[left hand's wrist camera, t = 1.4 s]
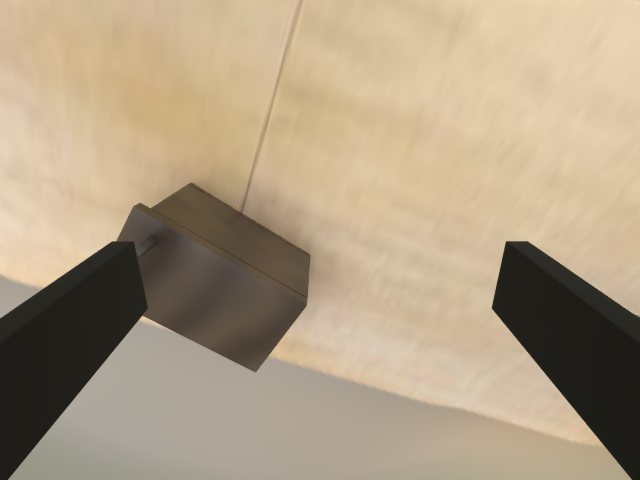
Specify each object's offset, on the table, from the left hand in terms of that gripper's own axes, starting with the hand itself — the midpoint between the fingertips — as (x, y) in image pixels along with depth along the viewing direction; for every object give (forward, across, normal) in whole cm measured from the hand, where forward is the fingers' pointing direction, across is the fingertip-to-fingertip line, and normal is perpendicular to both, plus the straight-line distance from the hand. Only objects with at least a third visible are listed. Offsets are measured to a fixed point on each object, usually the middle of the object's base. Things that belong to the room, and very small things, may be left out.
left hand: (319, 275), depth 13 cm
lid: (+17, -10, -10) cm, 22 cm away
